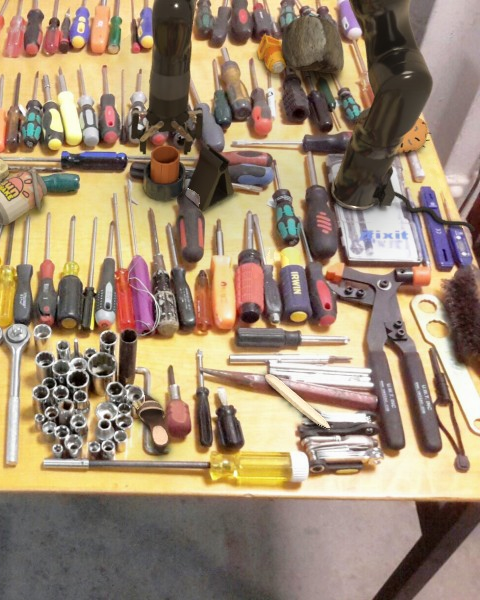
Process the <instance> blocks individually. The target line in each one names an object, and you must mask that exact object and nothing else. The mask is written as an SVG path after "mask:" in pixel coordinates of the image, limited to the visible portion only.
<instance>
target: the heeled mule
mask: <svg viewBox="0 0 480 600" xmlns="http://www.w3.org/2000/svg"><path fill="white" fill-rule="evenodd" d="M143 394H144V395H145V402H144V404H143V405H142V406H141V407H140V408H139V409H138V411H137V410H136V413H137V416H138V417H139V419H140V420H141V421H143V422H144V423H145V425H147V427H149V429H150V433H151V439H152V442H153V446H154V449H155V451H156V452H158V453H163V452H165V451H166V449H167V447H168V445H169V443H170V439H169V438H170V437H169V433H168V430H167V428H166V425H165V420H164V419H165V417H166V412H165V409H164V408H163V407H162V405H161V404H160V403H159V402H158V401H156V400H155V399H154V398H153V397H151V396H150V395H148V394H146V393H143Z"/></svg>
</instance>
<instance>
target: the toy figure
mask: <svg viewBox="0 0 480 600" xmlns="http://www.w3.org/2000/svg"><path fill="white" fill-rule="evenodd" d="M256 53H257V57H258V60H263V61H264V63H265V64H264V65H265V67H266V69H268V70H269V71H270V72H271V73H273V74H279V73H281V72H283V71H284V70H286V68H287V65H288V64H287V62H286V60H285V58H284V55H283V53H282V40H279V39H277V38H274V37H273V36H270V35H267V34H263V36H262V38H261V40H260V42H259V45H258V47H257V51H256Z"/></svg>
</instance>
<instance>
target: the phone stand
mask: <svg viewBox="0 0 480 600" xmlns="http://www.w3.org/2000/svg"><path fill="white" fill-rule="evenodd" d="M207 147H208V148H207ZM229 166H230V159H228V158H227V157H225V156H224V155H223V154H222V153H220V152H219V151H218V150H217V149H216V148H214V147H213V146H212V145H211V144H209V143H207V144H206V146H202V147H201V149H200V150H199V152H198V159H197V163H196V166H195V168H194V170H193V172H192V175H191V177H190V180H189V182H188V185H187V188H189V189H191V190H193V191H195V192H196V193H197V194H199V196H200V204H199V208H198V209H199V210H201V211H202V212H204V211H206V210H208V209H210V208H211V207H213V206H215V205H216V204H218V203H220V202H222V201H223V200H225V199H227V198H229V197H230V196H233V194H234V193H235V191H234V186H233V183H232V179H231V175H230V170H229ZM187 188H186V189H187Z"/></svg>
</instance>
